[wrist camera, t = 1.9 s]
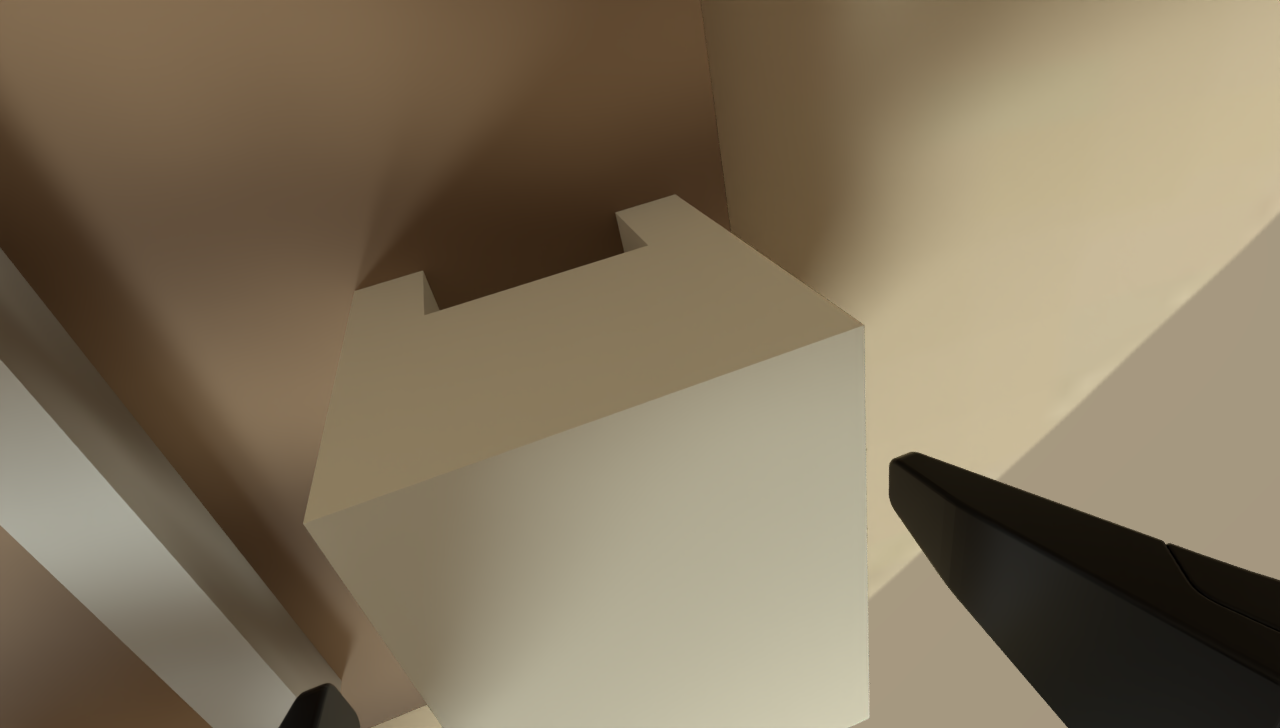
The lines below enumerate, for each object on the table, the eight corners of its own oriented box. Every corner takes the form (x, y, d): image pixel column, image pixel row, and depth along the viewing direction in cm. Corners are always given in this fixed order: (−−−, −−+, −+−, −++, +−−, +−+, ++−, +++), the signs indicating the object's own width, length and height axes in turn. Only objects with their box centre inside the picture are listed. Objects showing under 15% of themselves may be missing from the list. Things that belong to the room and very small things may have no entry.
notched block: (727, 498, 16) (869, 718, 11) (499, 587, 15) (540, 870, 10) (675, 194, 12) (864, 325, 7) (354, 291, 11) (302, 523, 6)
